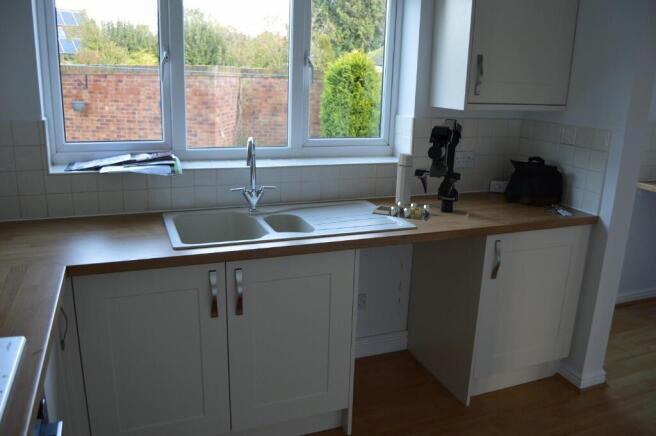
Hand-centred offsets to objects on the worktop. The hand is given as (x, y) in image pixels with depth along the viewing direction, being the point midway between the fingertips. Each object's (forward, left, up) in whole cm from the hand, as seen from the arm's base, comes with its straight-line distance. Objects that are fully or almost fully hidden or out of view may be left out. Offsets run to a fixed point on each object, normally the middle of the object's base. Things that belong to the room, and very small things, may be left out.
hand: (436, 194), depth 217 cm
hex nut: (-12, -10, -13) cm, 21 cm away
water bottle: (-34, -22, -15) cm, 43 cm away
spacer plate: (-12, -17, -14) cm, 25 cm away
